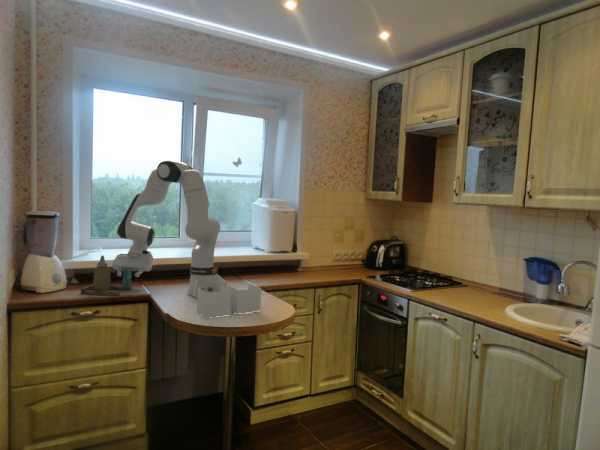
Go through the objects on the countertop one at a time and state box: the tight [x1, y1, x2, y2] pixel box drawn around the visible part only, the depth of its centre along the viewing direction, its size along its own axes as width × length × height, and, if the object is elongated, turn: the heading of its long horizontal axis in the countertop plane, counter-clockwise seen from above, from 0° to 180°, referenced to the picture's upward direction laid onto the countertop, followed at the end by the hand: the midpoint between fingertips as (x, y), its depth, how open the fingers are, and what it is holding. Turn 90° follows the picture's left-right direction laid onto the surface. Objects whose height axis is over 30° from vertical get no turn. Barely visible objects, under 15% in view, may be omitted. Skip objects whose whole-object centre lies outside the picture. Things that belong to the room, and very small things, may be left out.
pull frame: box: [80, 269, 133, 297], centre depth 200 cm, size 18×15×10 cm
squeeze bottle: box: [92, 255, 112, 291], centre depth 199 cm, size 8×8×18 cm
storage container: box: [196, 283, 262, 319], centre depth 173 cm, size 25×11×11 cm, turn 122°
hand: (127, 276), depth 206 cm, fingers open, 8 cm apart
